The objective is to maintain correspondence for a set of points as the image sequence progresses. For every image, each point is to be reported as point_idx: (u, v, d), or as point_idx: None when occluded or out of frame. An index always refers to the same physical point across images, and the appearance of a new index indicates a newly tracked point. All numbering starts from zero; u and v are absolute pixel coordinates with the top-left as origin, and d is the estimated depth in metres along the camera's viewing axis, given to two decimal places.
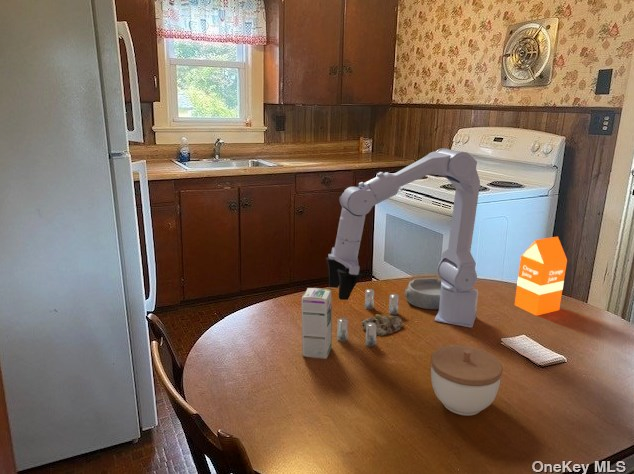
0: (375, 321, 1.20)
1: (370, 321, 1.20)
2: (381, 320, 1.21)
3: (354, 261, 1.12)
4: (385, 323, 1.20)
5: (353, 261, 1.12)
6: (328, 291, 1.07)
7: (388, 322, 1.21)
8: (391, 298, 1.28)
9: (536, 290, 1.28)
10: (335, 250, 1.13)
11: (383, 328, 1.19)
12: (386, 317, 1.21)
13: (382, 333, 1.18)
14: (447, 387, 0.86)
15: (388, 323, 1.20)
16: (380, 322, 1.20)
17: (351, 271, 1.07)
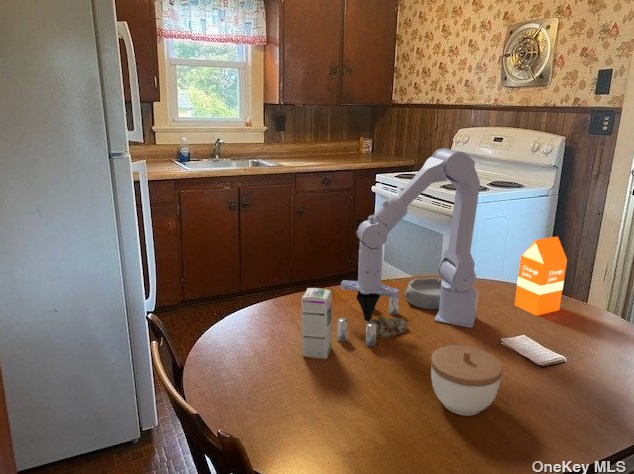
0: (379, 323, 1.19)
1: None
2: (385, 322, 1.19)
3: (381, 286, 1.21)
4: (389, 325, 1.19)
5: (381, 286, 1.20)
6: (328, 291, 1.07)
7: (392, 324, 1.19)
8: (391, 298, 1.28)
9: (536, 290, 1.28)
10: (366, 284, 1.18)
11: (387, 330, 1.17)
12: (390, 319, 1.20)
13: (386, 335, 1.16)
14: (447, 387, 0.86)
15: (392, 325, 1.19)
16: (384, 324, 1.19)
17: (396, 296, 1.17)
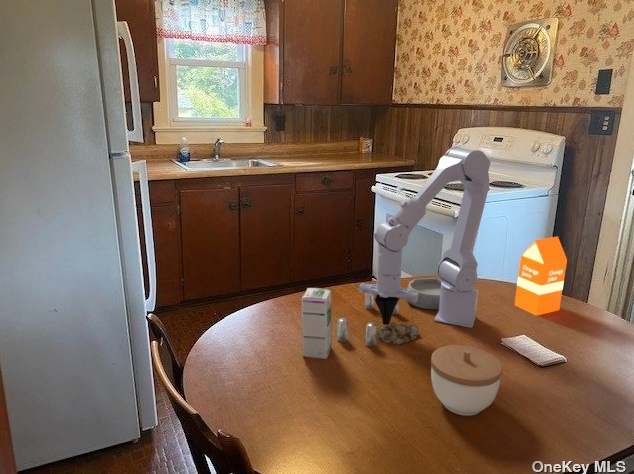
0: (391, 329, 1.16)
1: (385, 330, 1.15)
2: (396, 329, 1.16)
3: (400, 289, 1.19)
4: (401, 331, 1.16)
5: (400, 290, 1.19)
6: (328, 291, 1.07)
7: (404, 330, 1.16)
8: None
9: (536, 290, 1.28)
10: (386, 288, 1.16)
11: (399, 337, 1.14)
12: (402, 325, 1.17)
13: (398, 342, 1.14)
14: (447, 387, 0.86)
15: (404, 331, 1.16)
16: (396, 330, 1.16)
17: (416, 299, 1.15)
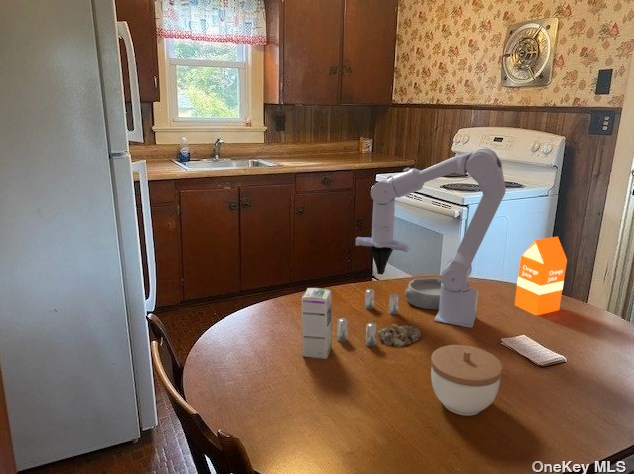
0: (392, 331, 1.15)
1: (387, 331, 1.15)
2: (398, 331, 1.15)
3: (393, 241, 1.30)
4: (402, 333, 1.15)
5: (393, 241, 1.30)
6: (328, 291, 1.07)
7: (405, 332, 1.15)
8: (391, 298, 1.28)
9: (536, 290, 1.28)
10: (380, 238, 1.27)
11: (400, 339, 1.13)
12: (403, 327, 1.16)
13: (400, 344, 1.13)
14: (447, 387, 0.86)
15: (405, 333, 1.15)
16: (397, 332, 1.15)
17: (407, 249, 1.27)
